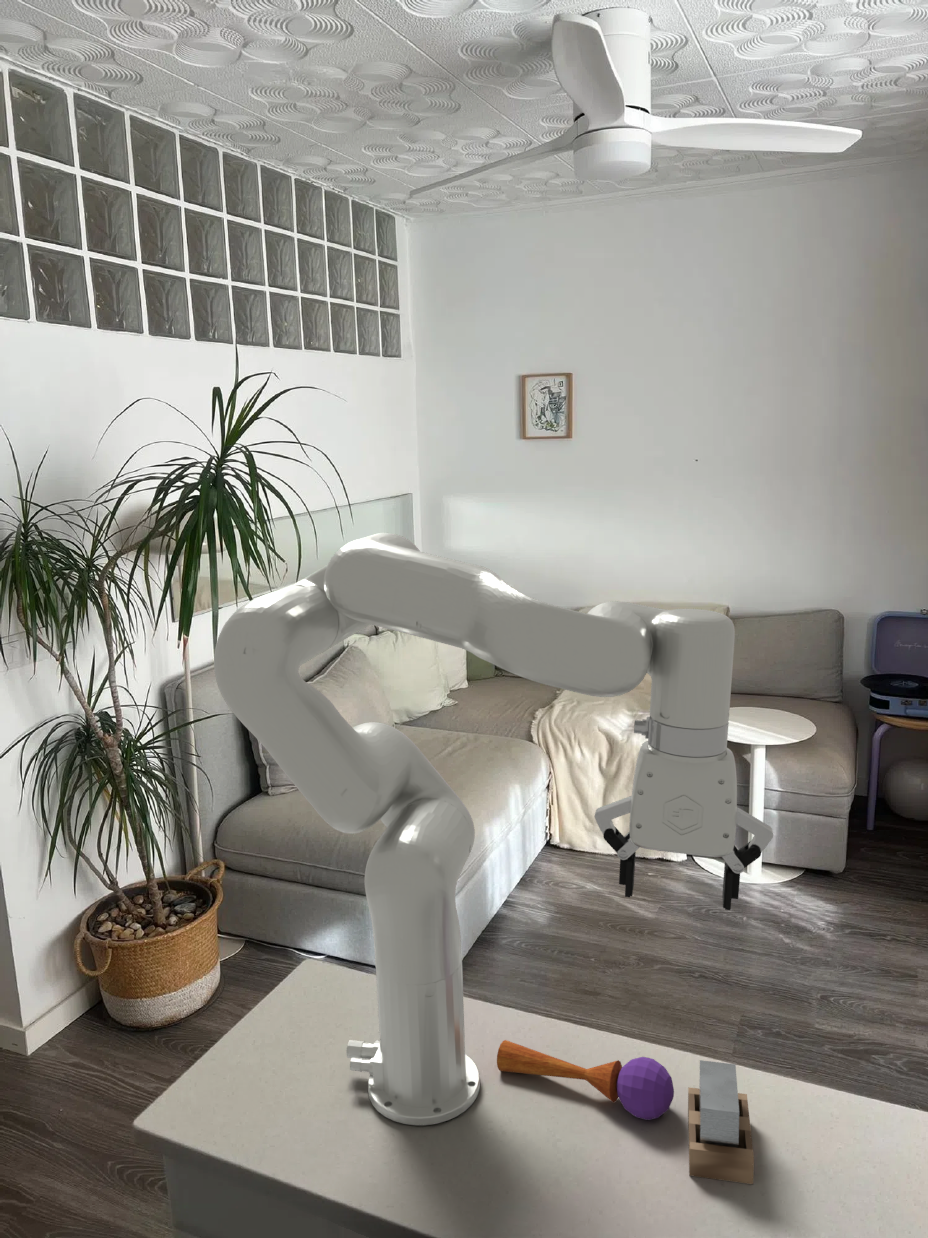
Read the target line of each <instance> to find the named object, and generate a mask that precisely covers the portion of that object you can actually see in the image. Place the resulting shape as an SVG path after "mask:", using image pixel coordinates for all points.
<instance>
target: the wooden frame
mask: <svg viewBox="0 0 928 1238" xmlns="http://www.w3.org/2000/svg"><path fill="white" fill-rule="evenodd" d="M687 1093H688V1094H687V1098H688V1099H687V1124H688V1125H687V1127H688V1130H687V1131H688V1135H687V1136H688V1167H689V1168H688V1170H689V1171H688V1173H689V1176H690V1177H696V1178H703V1179H705V1178H706V1179H713V1180H717V1181H718V1180H719V1181H727V1182H734V1183H742V1184H749V1185H753V1184H754V1170H755V1169H754V1166H755V1163H754V1162H755V1155H754V1147H753V1136H752V1128H751V1120H750V1111H749V1103H748V1094H747V1093H740V1092H738V1102H739V1145H738V1148H735V1147H727V1146H719V1145H711V1144H703V1143H700V1112H699V1087H698V1088H695V1087H691V1086H690V1087H688V1088H687Z"/></svg>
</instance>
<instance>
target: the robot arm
mask: <svg viewBox="0 0 928 1238" xmlns="http://www.w3.org/2000/svg"><path fill="white" fill-rule="evenodd" d="M369 626H376V627H379V628H382V629H383V628H384V629H387V630H391V631H395V632H399V633H401V634H407V635H411V636H414V637H417V638H418V637H419V638H422V639H425V640H430V641H433V642H436V643H440V644H443V645H444V644H445V645H448V646H452V647H455V648H459V649H462V650H465V651H467V652H469V653H471V654H472V655H474V656H475V657H477V658H478V659H481V660H483V661H486V662H488V663H490V664H492V665H494V666H496V667H498V668H500V669H502V670H505V671H507V672H508V673H511V674H514V675H516V676H517V677H518V676H519V677H521V678H523V679H526V680H529V681H533V682H535V683H539V684H542V685H547V686H549V687H550V686H551V687H553V688H554V687H555V688H558V689H562V690H566V691H569V692H574V693H577V694H581V695H584V696H585V695H586V696H590V697H596V698H614V697H618V696H622V695H625V694H627V693H630V692H631V691H633V690H634V689H635V688H637V687H638V685H640V684H641V683H642V681H643V680H644V679H645V677H646V675H647V674H648V675H649V676H650V678H651V686H650V688H651V689H650V701H649V702H650V705H649V706H650V707H649V716H646V719H642V720H640V719H638V720H637V719H634V726H633V727H634V728H633V733H634V734H637V735H639V734H641V736H644V738H645V740H646V739H647V740H646V741H643V742H642V744H641V746H640V748H639V752H638V755H637V759H636V762H635V763H636V764H635V769H634V774H633V780H632V781H633V782H632V789H631V790H632V791H631V795H630V796H627V797H624V798H622V799H619V800H617V801H614V802H611V803H608V804H605V805H602V806H599V807H598V808H596V810H595V813H594V819H595V821H596V824H597V826H598V828H599V829H600V832H601V833H602V835H603V836H602V837H603V839H604V841H605V842H606V843H607V844H608V845H609V846H610V847H611V848H612V849H613V850H614V852H615V854H617V855H616V856H617V858H618V859H619V875H618V877H619V879H618V885H621V886H625V887H624V888H625V890H624V897H625V898H631V897H633V894H634V893H633V892H634V886H635V874H636V873H635V872H636V870H635V869H636V868H635V867H636V851H637V850H639V849H641V848H642V849H645V850H652V851H658V852H664V853H665V852H667V853H675V854H683V855H690V856H700V857H701V856H702V857H710V858H711V857H712V858H713V857H714V858H722V859H723V860H724V867H723V870H724V871H723V881H722V882H723V884H722V895H721V896H722V908H723V909H724V910H726V911H731V908H732V899H734V900H739V895H740V894H739V893H740V883H741V882H740V881H741V874H742V873H743V872H744V870H745V868H746V867H748V866H750V865H751V864H752V863H754V862H755V861H756V860H757V859H759V858H760V857H761V855H762V853H763V852H764V850H765V849H766V848H767V846H768V845H769V844H770V842H771V841H772V839H773V838H774V831H773V828H772V827H771V826H770V825H768V824H767V823H765V822H763V821H762V820H760V819H758V818H757V817H755V816H754V815H752V814H750V813H748V812H746V811H745V810H743V809H742V808H740V807H738V805H737V804H738V781H737V780H738V779H737V769H736V768H737V767H736V761H735V760H736V759H735V756H734V752H733V751H732V750H731V749H730V748H728V738H729V737H728V736H729V723H730V722H729V721H730V706H731V697H732V696H731V693H732V682H733V681H732V679H733V666H734V665H733V664H734V654H735V653H734V652H735V639H736V638H735V637H736V629H735V625H734V622H733V621H732V619H731V618H730V617H728V616H727V615H726V614H725V613H721V612H718V611H715V610H711V609H710V610H709V609H702V608H701V609H698V608H676V609H664V608H658V607H653V606H649V605H643V604H638V603H634V602H633V603H632V602H627V601H620V600H615V601H614V600H611V601H606V602H605V601H604V602H602V603H600V604H597V605H595V606H594V607H592V608H591V609H589V611H587V612H583V611H578V610H573V609H569V608H566V607H561V606H558V605H555V604H551V603H548V602H545V601H541V600H539V599H536V598H533V597H531V596H528V595H526V594H524V593H522V592H521V591H518V590H516V589H515V588H513V587H512V586H510V585H509V584H508V582H506V581H505V580H504V579H503V578H502V577H501V576H499V574H497V573H496V572H495V571H493V570H492V569H489V568H487V567H484V566H482V565H478V564H474V563H468V562H465V561H461V560H456V559H452V558H448V557H445V556H442V555H441V556H440V555H436V554H432V553H428V552H424V551H420V549H419V548H418V546H417V545H416V544H414V543H413V541H411V540H410V539H408V538H406V537H404V536H402V535H400V534H396V533H392V532H391V533H390V532H379V533H375V534H371V535H368V536H365V537H361V538H357V539H354V540H352V541H349V542H347V543H346V544H343V545H342V546H341V547H340V548H339V549H337V551H335V552H334V554H333V555H332V556H331V557H330V559H329V561H328V563H327V564H326V565H325V566H323V567H321V568H319V569H317V570H315V571H314V572H313V573H311V574H308V576H306V577H304V578H302V579H300V580H298V581H297V582H295V583H293V584H291V585H287V586H285V587H282V588H279V589H277V590H275V591H271V592H268V593H265V594H263V595H260V596H258V597H256V598H253V599H251V600H250V601H248V602H246V603H244V604H243V605H241V606H240V607H239V608H238V609H237V610H235V611H234V613H232V614H231V616H230V617H229V618H228V620H227V621H226V622H225V623H224V625H223V627H222V629H221V630H220V632H219V635H218V638H217V641H216V643H215V648H214V655H213V667H214V668H213V670H214V677H215V682H216V685H217V688H218V691H219V692H220V695H221V698H223V701H224V702H225V703H226V706H227V707H228V708H229V709H230V711H231V712H232V713H233V715H234V716H235V717H236V718H237V719H238V720H239V721H240V722H241V723H242V725H243V726H244V727H245V728H246V729H247V730H248V732H250V733H251V734H252V735H253V736H254V738H255V739H256V740H257V741H258V742H260V744H261V745H262V746H263V747H264V749H265V751H267V752H268V753H269V754H270V756H271V757H272V759H273V760H274V761H275V763H276V764H277V765H278V767H279V768H280V769H281V770H282V771H283V772H284V774H285V775H286V777H288V779H289V780H290V782H292V784H293V785H294V786H295V787H296V788H297V789H298V791H299V792H300V793H301V794H302V796H303V797H304V798H305V800H306V801H307V802H308V803H309V804H310V805H311V806H312V808H313V809H314V811H315V812H316V813H317V814H318V815H319V816H320V818H321V819H322V820H324V822H325V823H327V824H328V825H329V826H330V827H331V828H332V829H334V830H336V831H338V832H341V833H344V834H353V835H354V834H360V833H362V832H364V831H366V830H369V829H370V828H371V827H373V826H374V825H376V824H377V823H378V822H379V821H380V822H381V823H382V824H383V825H384V826H385V827H386V828H385V829H384V831H383V832H382V834H381V835H380V836H379V837H378V838H377V841H376V842H375V844H374V845H373V848H371V851H370V852H369V853H370V854H369V856H368V858H367V862H366V866H365V870H364V871H365V872H364V890H365V891H364V892H365V897H366V901H367V907H368V911H369V914H370V920H371V928H372V935H373V949H374V951H373V952H374V966H375V973H376V975H375V978H376V994H377V995H376V996H377V1010H378V1011H377V1012H378V1015H377V1016H378V1033H379V1040H378V1039H376V1040H375V1041H374V1042H366V1041H365V1040H364V1041H363V1040H356V1039H349V1040H348V1043H347V1045H346V1050H345V1051H346V1053H345V1055H346V1058H349V1059H350V1062H349V1071H353V1072H364V1073H365V1072H368V1073H369V1077H368V1080H367V1091H368V1092H367V1093H368V1098H369V1100H370V1102H371V1105H372V1106H373V1107H374V1108H375V1110H376V1111H377V1112H378V1113H380V1114H381V1115H382V1116H383V1117H385V1118H387V1119H389V1120H391V1121H393V1122H397V1123H400V1124H404V1125H409V1126H429V1125H436V1124H441V1123H443V1122H446V1121H450V1120H451V1119H454V1118H456V1117H458V1116H460V1115H461V1114H463V1113H464V1112H466V1111H467V1110H468V1109H469V1108H470V1107H471V1106H472V1105H473V1104H474V1102H475V1100H476V1099H477V1098H478V1095H479V1092H480V1088H481V1087H480V1086H481V1085H480V1084H481V1080H480V1071H479V1068H478V1066H477V1065H476V1063H475V1062H474V1059H472V1058H471V1057H470V1056H468V1054H466V1041H465V1040H466V1038H465V1037H466V1035H465V1034H466V1033H465V1011H464V1009H465V1008H464V1005H465V1004H464V982H463V981H464V980H463V978H464V976H463V975H464V974H463V958H462V955H463V954H462V938H461V928H460V927H461V925H460V920H459V915H458V909H457V904H456V903H457V902H456V890H457V889H456V888H457V884H458V880H459V878H460V876H461V873H462V872H463V869H464V866H465V865H466V863H467V861H468V859H469V857H470V855H471V853H472V850H473V846H474V844H475V837H476V836H475V835H476V830H475V825H474V820H473V818H472V815H471V813H470V811H469V809H468V808H467V806H466V805H465V804H464V802H463V801H462V799H461V798H460V797H459V795H458V794H457V793H456V792H455V791H454V789H453V788H452V787H451V786H450V785H449V784H448V782H447V781H446V780H445V779H444V777H443V776H442V775H441V774H440V772H439V771H438V770H437V769H436V768H435V767H434V765H433V764H432V762H430V761H429V759H428V758H427V756H426V755H425V754H424V753H423V752H422V751H421V749H420V748H419V747H418V746H417V745H416V744H415V743H414V742H413V740H412V739H411V738H409V737H408V736H407V735H406V734H405V733H403V731H401V730H399V728H396V727H394V726H392V725H390V724H386V723H383V722H377V721H375V722H374V721H370V722H364V723H360V724H357V725H355V726H353V727H352V726H351V725H350V724H349V722H348V721H347V720H346V719H345V718H344V717H343V715H341V713H340V712H339V710H338V709H337V708H336V706H335V705H334V704H333V702H331V700H330V699H329V698H328V697H327V696H325V695H324V694H323V692H321V691H320V690H318V689H317V688H315V687H314V686H313V685H311V684H310V683H308V682H306V681H305V680H304V679H303V678H302V677H301V675H300V673H299V670H300V668H301V666H302V665H303V664H306V663H308V662H310V661H311V660H313V659H315V658H316V657H318V656H320V655H321V654H324V652H326V651H328V650H329V649H331V648H333V647H335V646H336V645H338V644H340V643H341V642H343V641H345V640H347V639H348V638H350V637H351V636H353V635H355V634H357V633H358V632H360V631H362V630H364V629H366V628H368V627H369ZM628 814H629V828H628V829H629V831H628V832H627V833H626V834H625V835H624V834H623V833H621V832H620V830H619V829H618V828H617V827H616V826H615V825H614V822H613V820H614V819H616V818H619V817H622V816H625V815H628ZM737 826H738V827H740V828H742V829H743V830H745V831H747V832H748V833H750V834H752V835H753V837H752V839H751V840H750V841H748V842H747V843H745V844H743V846H742V847H740V848H738V846H737V845H736V844H735V842H736V834H737V833H736V832H737Z"/></svg>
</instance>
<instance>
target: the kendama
mask: <svg viewBox="0 0 928 1238" xmlns="http://www.w3.org/2000/svg"><path fill="white" fill-rule="evenodd" d="M496 1054H497V1055H496V1066H497V1069H498V1070H499V1071H500V1072H505V1073H517V1074H526V1075H533V1076H535V1075H536V1076H543V1077H544V1076H546V1077H552V1078H553V1077H555V1078H563V1079H564V1078H565V1079H573V1080H583V1081H584V1080H585V1081H587V1083H589V1084H590V1085H591V1086H592V1087H593V1088H595V1089H596V1090H597V1091H598V1092H600V1094H602V1095H603V1096H605V1097H606V1098H607V1099H608V1100H609V1101H610V1102H612V1103H616V1102H617V1101H618V1099H619V1101H620V1103H621V1105H622V1106H623V1108H624V1109H625V1110H626V1111H627V1112H629V1113H630V1115H632V1116H634V1117H635V1118H637V1119H641V1120H645V1121H649V1120H654V1119H658V1118H660V1117H661V1116H662V1115H664V1114H665V1113H666V1112H667V1111H668V1110H669V1109H670V1106H671V1104H672V1103H673V1099H674V1096H675V1091H674V1090H675V1089H674V1083H673V1079H672V1076H671V1074H670V1073H669V1071H668V1070H667V1068H666V1067H665V1066H663V1064H661V1063H659V1062H658V1061H657V1060H656V1059H655V1058H650V1057H645V1056H641V1057H640V1056H639V1057H635V1058H631V1059H630V1060H629V1061H628V1062H626V1063H625V1064H624V1065H622V1062H621V1061H620V1060H618V1059H617V1060H614V1061H610V1062H606V1063H603V1064H601V1065H597V1066H596V1065H595V1066H593V1067H589V1068H585V1067H583V1066H579V1065H576V1064H574V1063H571V1062H568V1061H565V1060H563V1059H559V1058H557V1057H555V1056H552V1055H549V1054H546V1053H543V1052H540V1051H538V1050H534V1049H531V1048H529V1047H526V1046H523V1045H521V1044H518V1043H515V1042H512V1041H509V1040H507V1039H504V1040H502V1042H501V1043H500V1045H499V1047H498V1050H497V1053H496Z"/></svg>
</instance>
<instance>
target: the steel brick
mask: <svg viewBox="0 0 928 1238" xmlns="http://www.w3.org/2000/svg"><path fill="white" fill-rule="evenodd" d="M698 1081H699V1083H698V1084H699V1087H698V1089H699V1112H700V1143H703V1144H711V1145H719V1146H727V1147H735V1148H738V1145H739V1102H738V1093H739V1092H738V1079H737V1067H736V1063H728V1062H727V1063H726V1062H719V1061H710V1060H699V1080H698Z"/></svg>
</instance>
